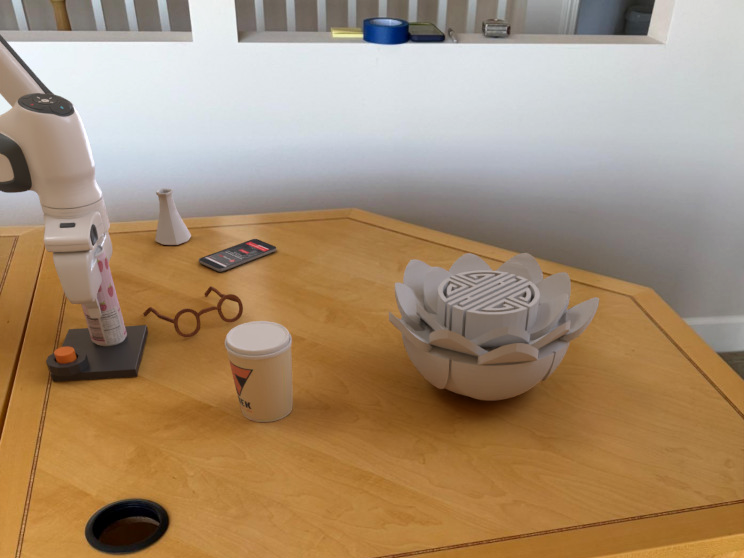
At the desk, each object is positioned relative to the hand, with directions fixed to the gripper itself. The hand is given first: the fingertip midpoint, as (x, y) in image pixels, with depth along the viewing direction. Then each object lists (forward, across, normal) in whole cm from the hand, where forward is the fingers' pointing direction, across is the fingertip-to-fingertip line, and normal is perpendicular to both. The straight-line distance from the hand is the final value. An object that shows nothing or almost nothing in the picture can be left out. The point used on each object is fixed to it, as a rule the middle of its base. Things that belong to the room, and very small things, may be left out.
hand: (100, 305), depth 125 cm
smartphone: (+7, -35, +20) cm, 41 cm away
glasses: (+8, -9, +13) cm, 17 cm away
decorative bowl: (+8, +17, +59) cm, 62 cm away
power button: (+5, +9, -5) cm, 11 cm away
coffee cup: (+8, +22, +26) cm, 35 cm away
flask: (+8, -46, +6) cm, 47 cm away
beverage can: (+6, 0, 0) cm, 6 cm away
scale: (+7, +3, -1) cm, 8 cm away
